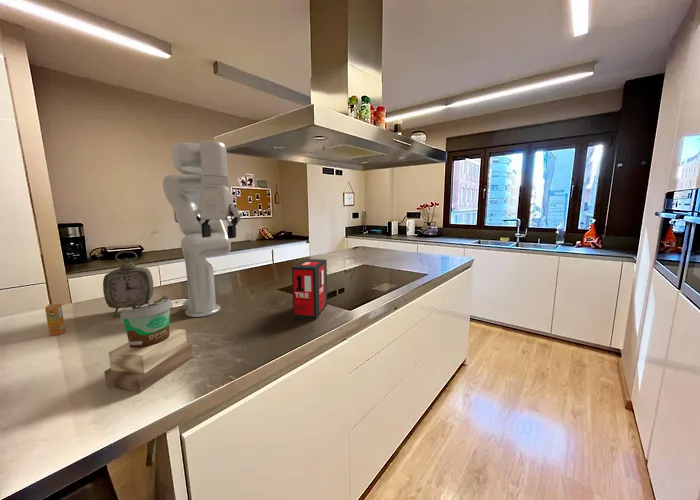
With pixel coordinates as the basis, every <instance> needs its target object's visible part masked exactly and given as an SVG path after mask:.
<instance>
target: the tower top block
mask: <svg viewBox="0 0 700 500" xmlns="http://www.w3.org/2000/svg"><path fill="white" fill-rule="evenodd" d="M187 344H188V343H187V332H186V329H179V328H178V329H177V328H170V331H169V337H168V338H167V339H166V340H164V341H162V342H160V343H158V344H155V345H151V346H147V347H140V348H130V345H129V341H128V342H126V343H125V344H122V345H121V346H118V347H117V348H114V349H113V350H111V351H109V352H108V358H109V359H108V360H109V365H110V368H111V370H112V371H123V372H133V373H143V374H145V373H146V372H148V371H149V370H151V369H152V368H154V367H155V366H157V365H158V364H160V363H161V362H163V361H164V360H166V359H167V358H169V357H170V356H171V355H173V354H174V353H176V352H177V351H179V350H180V349H182V348H183V347H185V346H186V345H187Z"/></svg>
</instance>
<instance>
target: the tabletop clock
mask: <svg viewBox="0 0 700 500" xmlns="http://www.w3.org/2000/svg"><path fill="white" fill-rule="evenodd" d="M124 253H126V254H127V253H130V254H134V255H135V257H134V258H132V259H129V258H128V257H126V258H124V259H119V258H118V256H119V255H120V254H124ZM137 258H138V254H137V253H136V252H134V251H131V250H124V251H123V250H122V251H119V252H117V253H116V254H115V260H117V261H118V262H121V263H122V264H120V266H119V268H117V269H114V270H112V271H110V272H108V273H107V274H105V275H104V277H103V282H102V292H103V296H104V300H105V302H106V304H107V306H108V308H111V309H115V311H113V312H112V313H111V316H112V317H116V316H117V315H118V313H117V312H118V311H119V310H120V309H126V308H127V309H128V308H129V309H130V308H131V309H134V308H136V307H138V306H140V305H142V304H145V303H149V302H150V301H151V299H152V297H153V294H154V279H153V276H152V272H151V270H150V269H149V268H147V267H141V266H140V267H137V266H136V264H135V263H133V261H135V260H137Z"/></svg>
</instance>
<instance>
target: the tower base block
mask: <svg viewBox="0 0 700 500" xmlns="http://www.w3.org/2000/svg"><path fill="white" fill-rule="evenodd" d="M193 358H194V354H193V345H192V344H191V343H187V345H186V346H185V347H183V348H182V349H180V350H179V351H177V352H176V353H174V354H173V355H171V356H170V357H169V358H167V359H166V360H164V361H163V362H161V363H160V364H158V365H157V366H155V367H154V368H152V369H151V370H149V371H148V372H146V373H145V374H143V373H133V372H123V371H112V370H111V367H110V368H108V369H106V370H104V377H105V380H104V381H105V385H106V388H109V389H117V390H121V391H122V390H123V391H127V392H133V393H139V394H141V393H142V392H144V391H146V390H147V389H149V388H150V387H152V386H154V385H155V384H156V383H158V382H159V381H161V380H162V379H164V378H165V377H166V376H168V375H169V374H171V373H172V372H174V371H175V370H177V369H178V368H180V367H181V366H182V365H184V364H185V363H187V362H189V361H190V360H192V359H193Z"/></svg>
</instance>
